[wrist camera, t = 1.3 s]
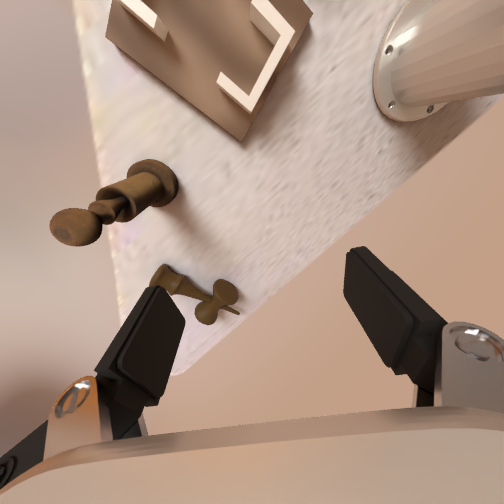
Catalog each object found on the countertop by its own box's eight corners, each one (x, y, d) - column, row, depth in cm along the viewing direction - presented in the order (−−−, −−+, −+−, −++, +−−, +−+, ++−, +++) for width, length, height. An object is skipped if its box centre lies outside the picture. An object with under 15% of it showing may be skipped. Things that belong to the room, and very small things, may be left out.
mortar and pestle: (129, 189, 29) (8, 248, 14) (139, 149, 26) (3, 169, 11) (171, 209, 31) (105, 280, 16) (184, 174, 28) (120, 220, 13)
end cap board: (156, -164, 15) (148, -192, 14) (308, 20, 21) (313, 13, 19) (113, 42, 21) (105, 37, 19) (241, 141, 26) (241, 142, 25)
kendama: (169, 248, 36) (252, 292, 43) (152, 279, 40) (229, 314, 47) (156, 267, 31) (252, 313, 38) (138, 300, 35) (227, 336, 42)
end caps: (144, -114, 15) (125, -164, 13) (288, 44, 20) (295, 31, 18) (120, 4, 18) (100, -17, 16) (250, 114, 24) (251, 112, 21)
